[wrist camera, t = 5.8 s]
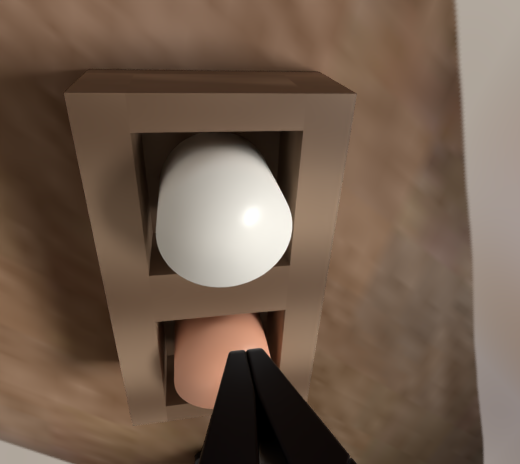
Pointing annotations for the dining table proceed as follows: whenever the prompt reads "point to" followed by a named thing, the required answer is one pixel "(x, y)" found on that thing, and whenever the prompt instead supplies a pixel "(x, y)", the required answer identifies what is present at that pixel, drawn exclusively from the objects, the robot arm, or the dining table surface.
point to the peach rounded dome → (211, 352)
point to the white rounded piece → (220, 211)
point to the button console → (146, 204)
